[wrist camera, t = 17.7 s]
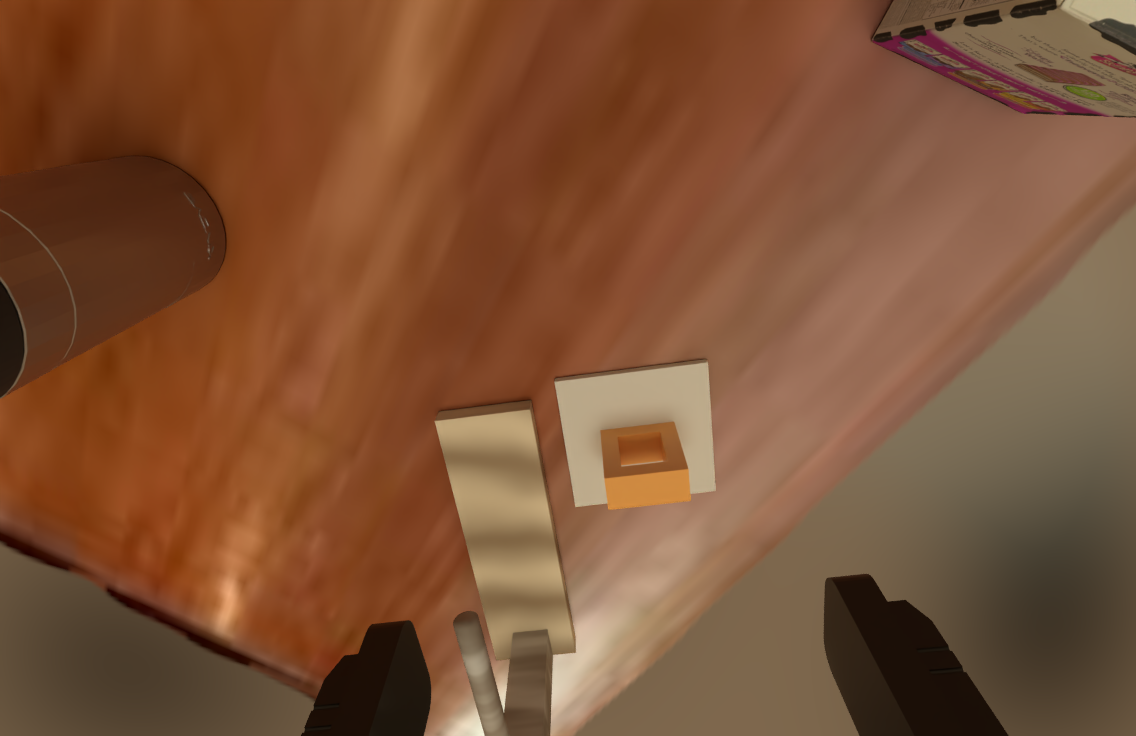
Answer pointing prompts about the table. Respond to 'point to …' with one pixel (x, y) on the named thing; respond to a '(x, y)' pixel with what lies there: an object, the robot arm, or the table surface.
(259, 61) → the table surface
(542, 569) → the hook stand
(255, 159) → the table surface
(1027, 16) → the candy bar box
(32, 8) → the table surface
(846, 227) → the table surface
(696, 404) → the mat
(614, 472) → the loop
